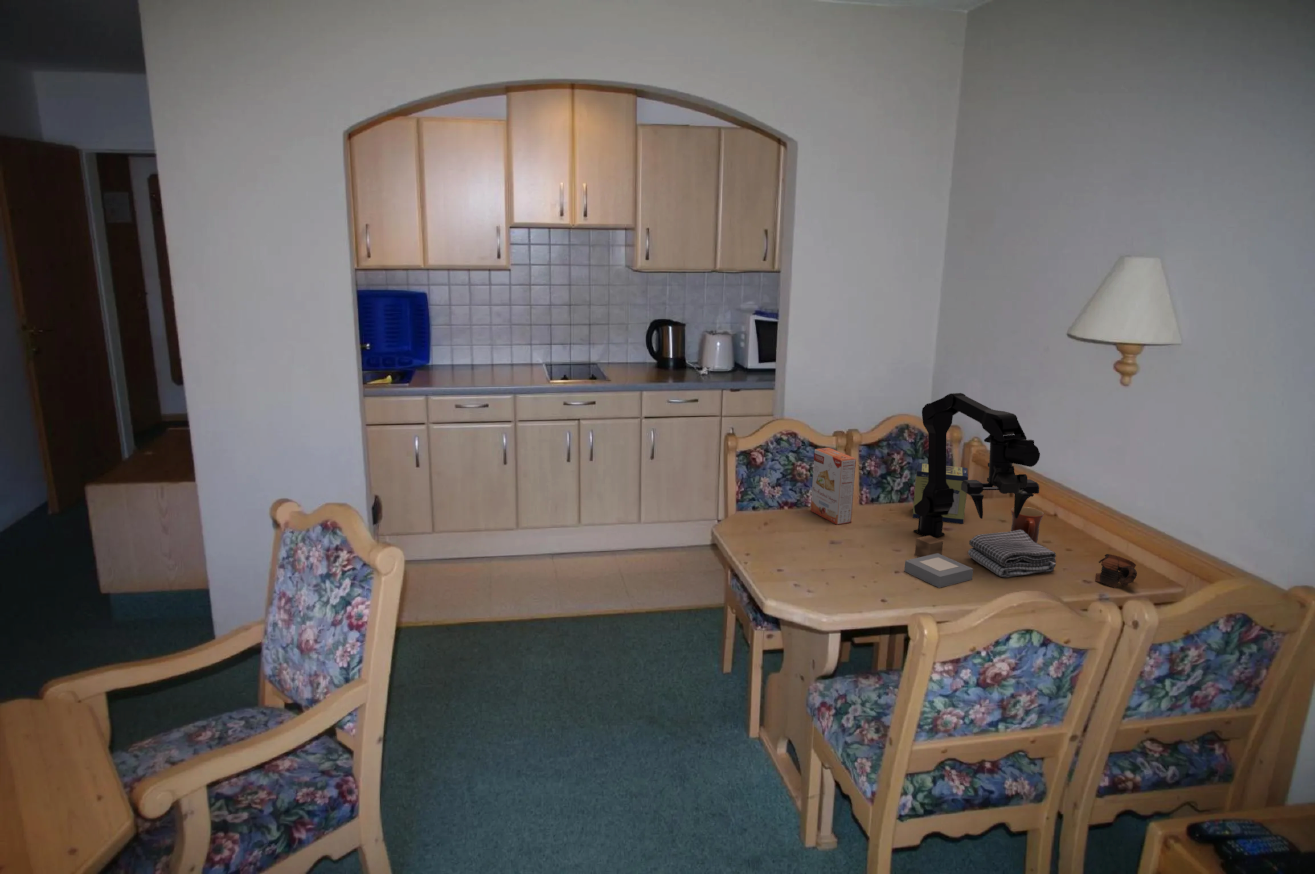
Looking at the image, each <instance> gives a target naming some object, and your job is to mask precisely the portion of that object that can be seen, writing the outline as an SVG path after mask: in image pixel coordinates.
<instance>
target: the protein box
mask: <svg viewBox="0 0 1315 874" xmlns="http://www.w3.org/2000/svg"><path fill="white" fill-rule="evenodd" d="M964 480H969V473H968V467H962V466H949V465H946V482H947V484H948V486H949V488H953V490H954V495H953V498H954V502H953V505H952V508H950V510H949V513H948V515H941V516H943V520H942V522H943V523H952V524H959V525H960V524H961V525H962V524H964V521H965V520H964V519H965V512H966V511H965V510H966V502H967V495H968V494H967V493H965V492H964V491H962V490H961V484H962V482H963V481H964ZM914 482H915V483H914V492H913V493H914V494H913V505H912V506H913V508H912V509H913V510H912V518H913V519H918V520H919V515H918V514H916V513H915V510H914V506H915V505H916V504H917V503H918V502H920V501H921V500H922V495H923V490H924V488H925V487H926V485H927V483H928V463H922V462H921V463H920V462H918V463H917V466H916V474H915V481H914Z"/></svg>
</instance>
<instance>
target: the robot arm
mask: <svg viewBox="0 0 1315 874" xmlns="http://www.w3.org/2000/svg"><path fill="white" fill-rule="evenodd" d="M958 413H961V414H963V415H964V416H967V417H968V418H970V419H972V420H974V421H975V422H978V423H979V424H981V427H982V430H984V431H985V432H987V434H989V435H988V436H987V437H985V438H984V439H983V441H984V442H985V443H989V458H988V459H989V461H988V462H987V467H988V477H987V478H986V479H987V480H986V481H987V482H981V481H979V480H977V479H968V480H964V481H963V482H962V484H961V490H962V491H964V492H965V493H967V495H968V496H970V497H971V498H972V501H973V504H974V506H975V509H976V512H977V513H978V514H977V515H978V517H979V519H983V517H984V507H983V504H984V503H983V499H984V494H982V493H983V492H984V491H998V492H999V493H1000V494H1004V495H1007V494H1013V495H1014V502H1013V503H1014V505H1013V507H1014V517H1015V518H1018V516H1019V514H1020V511H1021V509H1022V507H1024V505H1025V503H1026V501H1028V499H1030V498H1031V497H1034V494H1040V484H1039V483H1038V482H1037V481H1035V480H1032V479H1030V478H1029V479H1028V475H1027V474H1025V473H1020V474H1016V473H1015V466H1014V465H1013V464H1015V465H1019V466H1024V467H1030V468H1032V467H1034V466H1036V465H1037V464H1038V463H1039V460H1040V458H1041V457H1040V456H1041V452H1040V450H1039V448H1038V446H1037V445H1035V440H1034V439H1027V436H1026V434H1025V432H1024V430H1023V428H1022V426H1021V425H1020V422H1019V420H1018V417H1017V415H1016V414H1015V413H1011V412H1009V411H1004V410H998V409H997V410H996V409H993V408H990V407H988V406H986V405H985V404H982V403H980V402H978V401H976V400H974V399H973V398H971V397H969V396H966V394H964V393H962V392H953V393H948V394H946V395H945V396H943V397H941V398H939V399H937V400H935V401H932V402H930V403H926V404H925V405H924V406H923V407H922V410H921V418H922V424H923V426H924V428H925V430H926V432H927V433H928V435H927V436H928V438H927V439H928V441H927V442H928V446H927V447H928V453H927V454H928V459H927V460H928V462H927V464H928V483H927V485H926V487H925V488H924V490H923V495H922V500H921V501H920V502H918V503H917V504H916V505H915V506H914V510H915V513H916V514H918V515H919V519H918V523H917V529H914V530H913V532H914V533H916V534H919V535H921V536H922V537H924V536H929V535H930V536H932V537H935V538H938V537H942V536H945V534H946V533H944V532H943V526H944V522H943V521H942V520H943V516H941V515H948V513H949V510H950V508H952V505H953V502H954V498H953V495H954V490H953V488H949V486H948V484H947V482H946V466H947V433H948V431H949V429H950V427H951V426H952V424H953V418H954V416H955V415H957V414H958Z"/></svg>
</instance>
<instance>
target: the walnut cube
mask: <svg viewBox="0 0 1315 874" xmlns="http://www.w3.org/2000/svg"><path fill="white" fill-rule="evenodd" d="M943 546H944V541H943V540H941V539H939V538H938V537H932V536H930V535H929V536H920V537H916V540H915V548H914V549H915V550H914V556H917V557H918V558H919V557H923V556H928V555H932V554H936V553H939V554H941V555H943V548H944V547H943Z"/></svg>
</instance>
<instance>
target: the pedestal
mask: <svg viewBox="0 0 1315 874" xmlns="http://www.w3.org/2000/svg"><path fill="white" fill-rule="evenodd" d="M903 571H904V573H908V574H909V575H911V576H914V577H915V578H918V579H920V580H921V581H923V582H926V583H928V584H930V585H932V586H934V587H937V588H938V589H940V588H943V587H948V586H951V585H956V584H960V583H964V582H967V581H972V580H973V574H974V568H972V567H971V566H969V565H966V564H964V563H962V562H959V561H956V560H955V559H952V558H950V557H947V556H945V555H943V554H942V555H941V554H939V553H936V554H932V555H928V556H923V557H919V556H918V557H916V558H910V559H906V560H904V570H903Z"/></svg>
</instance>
